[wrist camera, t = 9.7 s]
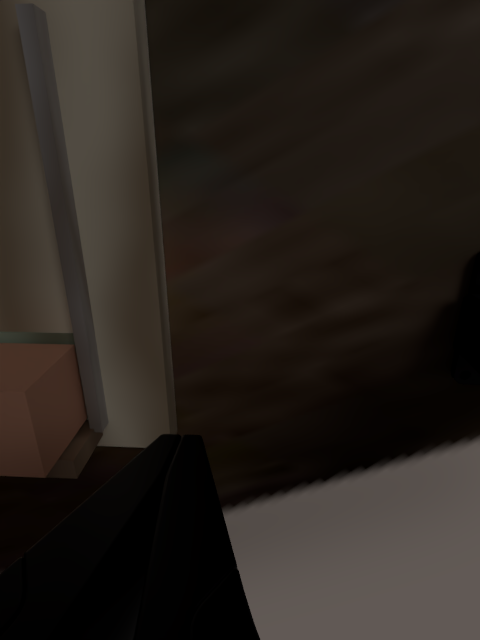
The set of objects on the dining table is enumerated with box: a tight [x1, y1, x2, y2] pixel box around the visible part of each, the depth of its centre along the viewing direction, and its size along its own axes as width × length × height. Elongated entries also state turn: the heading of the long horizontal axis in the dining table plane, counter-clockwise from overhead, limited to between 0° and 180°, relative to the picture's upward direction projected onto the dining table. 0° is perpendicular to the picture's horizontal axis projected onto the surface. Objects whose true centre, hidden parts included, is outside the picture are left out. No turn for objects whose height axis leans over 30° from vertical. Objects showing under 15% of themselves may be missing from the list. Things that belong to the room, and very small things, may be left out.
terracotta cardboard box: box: [0, 343, 87, 478], centre depth 17 cm, size 4×4×4 cm
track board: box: [0, 0, 177, 479], centre depth 16 cm, size 12×20×4 cm, turn 0°
